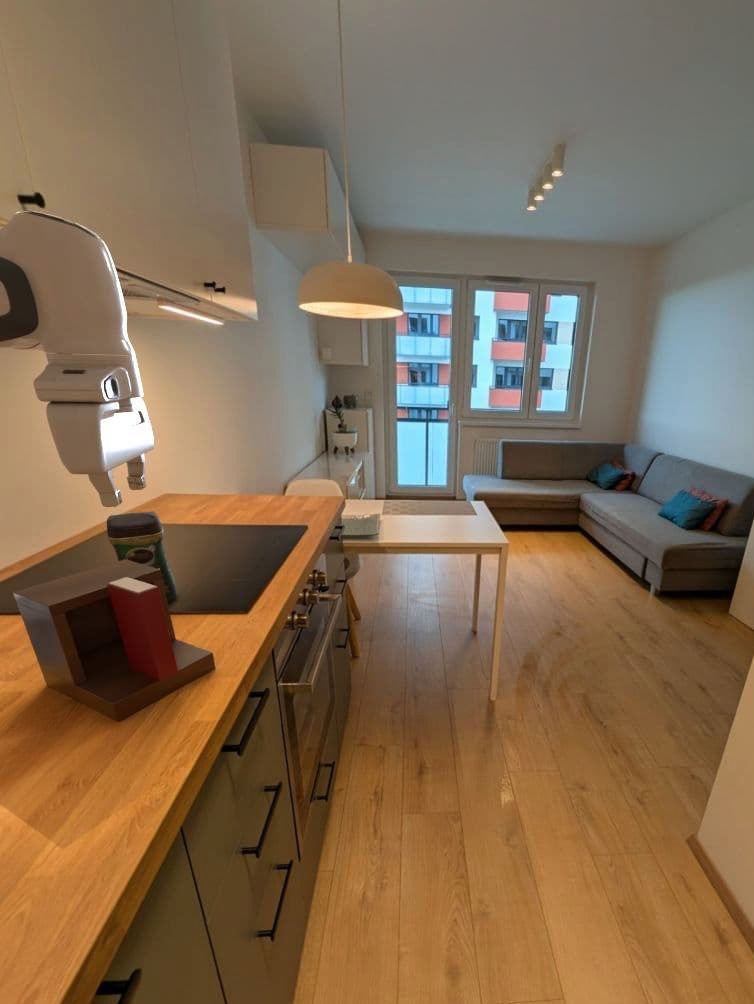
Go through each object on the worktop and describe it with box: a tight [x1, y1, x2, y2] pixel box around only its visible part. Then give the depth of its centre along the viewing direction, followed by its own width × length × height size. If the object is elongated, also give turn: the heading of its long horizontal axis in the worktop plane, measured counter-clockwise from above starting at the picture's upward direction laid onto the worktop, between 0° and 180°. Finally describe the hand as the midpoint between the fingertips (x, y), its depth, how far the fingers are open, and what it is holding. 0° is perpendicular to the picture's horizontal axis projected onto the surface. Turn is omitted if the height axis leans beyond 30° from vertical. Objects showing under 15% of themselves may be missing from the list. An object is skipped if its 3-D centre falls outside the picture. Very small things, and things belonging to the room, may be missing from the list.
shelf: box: [12, 559, 216, 723], centre depth 77 cm, size 18×16×16 cm
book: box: [107, 577, 178, 682], centre depth 74 cm, size 7×3×14 cm, turn 62°
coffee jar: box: [106, 511, 179, 604], centre depth 102 cm, size 10×8×19 cm
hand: (126, 496), depth 66 cm, fingers open, 8 cm apart
